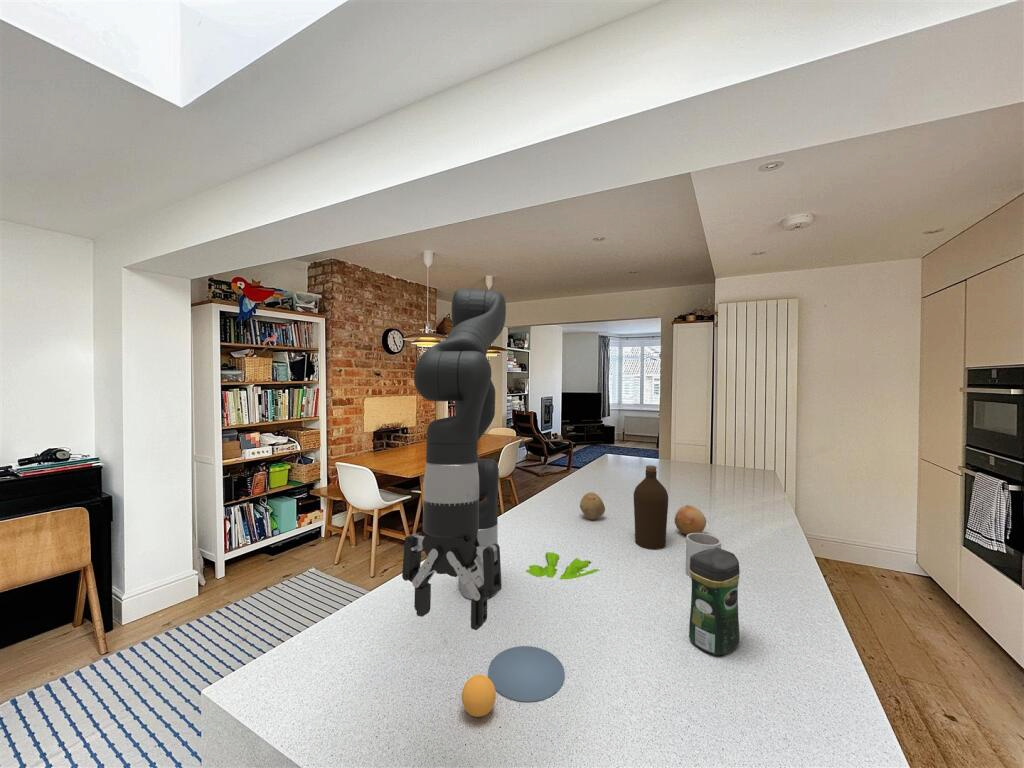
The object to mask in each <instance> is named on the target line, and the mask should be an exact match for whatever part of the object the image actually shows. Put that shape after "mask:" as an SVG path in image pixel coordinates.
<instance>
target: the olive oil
mask: <svg viewBox="0 0 1024 768" xmlns="http://www.w3.org/2000/svg"><path fill="white" fill-rule="evenodd" d="M657 473H658V472H657V466H655V465H645V477H644V478H643V479H642V480H641V481H640V483H638V484H637V485H636V487H635V489H634V491H633V508H634V509H633V513H634V514H633V517H634V542H635V544H636V545H637V546H639V547H641V548H643V549H647V550H662V549H664V548H665V547H666V546H667V524H668V512H669V511H668V509H669V494H668V491H667V488H666V487H665V486H664V485H663V484H662V483H661V482H660V481H659V479H658V478H657Z"/></svg>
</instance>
